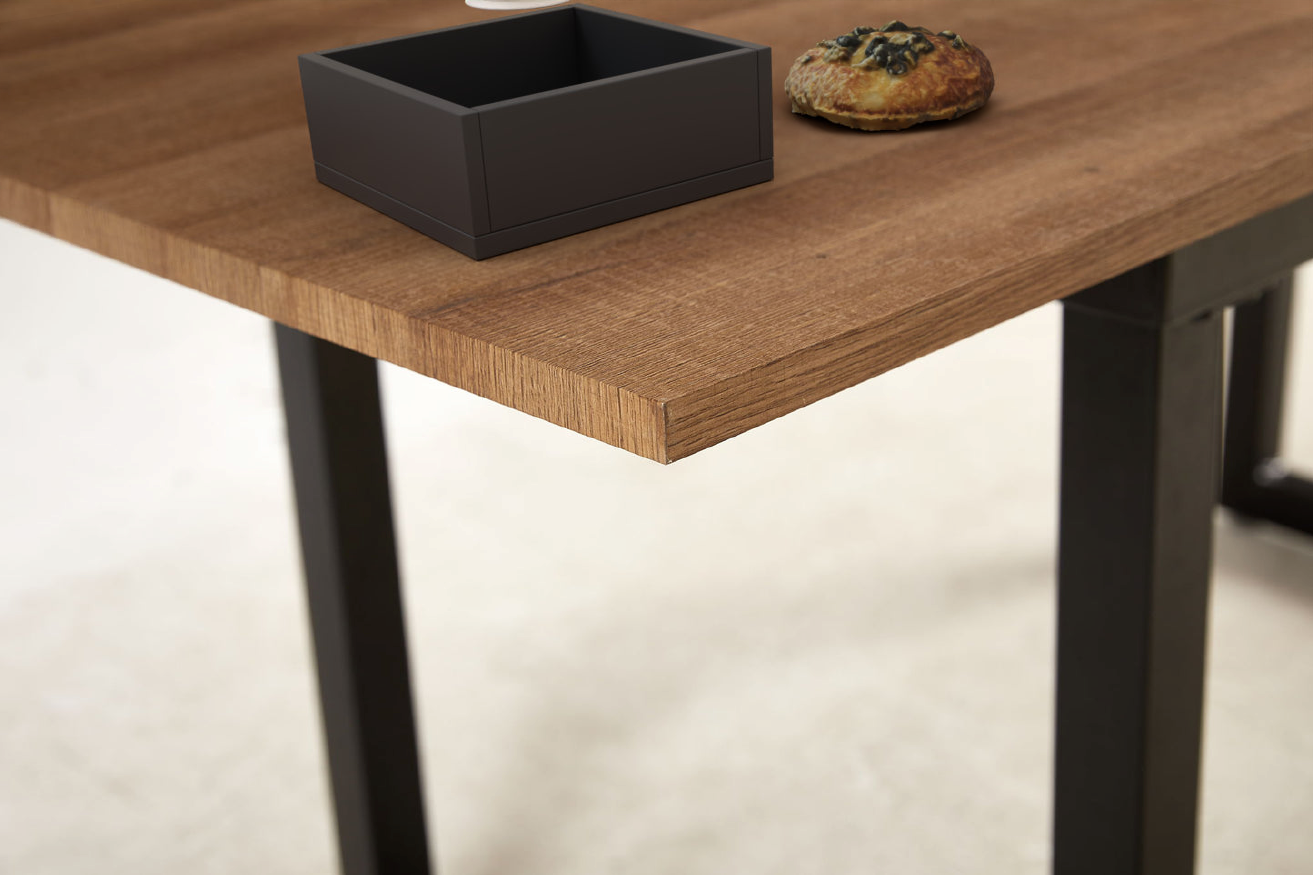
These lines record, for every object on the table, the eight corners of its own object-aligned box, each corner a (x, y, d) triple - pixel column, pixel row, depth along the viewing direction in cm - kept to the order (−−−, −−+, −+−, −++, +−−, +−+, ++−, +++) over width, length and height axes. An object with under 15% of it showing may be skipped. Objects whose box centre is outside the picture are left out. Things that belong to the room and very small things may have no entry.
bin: (476, 261, 63) (460, 115, 60) (315, 180, 75) (296, 55, 72) (774, 179, 71) (772, 46, 68) (587, 117, 82) (578, 2, 80)
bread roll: (1037, 90, 81) (1032, -5, 79) (918, 170, 75) (908, 70, 72) (863, 73, 88) (853, -15, 86) (741, 145, 82) (726, 53, 80)
